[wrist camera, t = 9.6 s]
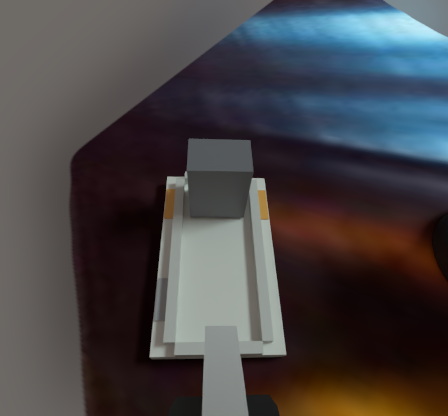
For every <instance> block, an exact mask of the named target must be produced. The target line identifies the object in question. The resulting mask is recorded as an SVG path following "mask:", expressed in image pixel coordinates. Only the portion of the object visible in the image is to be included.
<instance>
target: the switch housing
mask: <svg viewBox="0 0 448 416" xmlns="http://www.w3.org/2000/svg"><path fill="white" fill-rule="evenodd" d="M205 326H237V333H238V341H239V348H240V356H241V358H251V357H283V356H285V355H286V348H285V340H284V332H283V324H282V316H281V308H280V300H279V292H278V284H277V277H276V269H275V261H274V253H273V245H272V237H271V229H270V221H269V213H268V205H267V197H266V189H265V181H264V178H252V181H251V185H250V190H249V195H248V199H247V204H246V209H245V213H244V218H222V217H190V208H189V193H188V179H187V172H185V177H167V186H166V196H165V206H164V216H163V227H162V237H161V247H160V257H159V267H158V277H157V287H156V297H155V307H154V317H153V327H152V337H151V347H150V358H151V359H201V358H204V346H205Z"/></svg>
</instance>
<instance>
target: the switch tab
mask: <svg viewBox="0 0 448 416" xmlns="http://www.w3.org/2000/svg"><path fill="white" fill-rule="evenodd" d="M252 176H253V163H252V153H251V143H250V140H217V139H189V142H188V160H187V179H188V193H189V208H190V217H222V218H244V213H245V209H246V204H247V199H248V195H249V190H250V185H251V181H252Z"/></svg>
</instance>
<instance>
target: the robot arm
mask: <svg viewBox="0 0 448 416" xmlns="http://www.w3.org/2000/svg"><path fill="white" fill-rule="evenodd" d="M433 249H434V253H435V257H436V260H437V262H438V264H439V267H440V269H441V270H442V272H443V274H444V276H445V277H446V279H447V280H448V213H447V214H446V215H444V216H443V217H442V218H441V219H440V220H439V221H438V223H437V225H436V227H435V229H434V233H433ZM168 416H279V412H278V408H277V405H276V404H275V403H274V401H273V400H272V398H271V397H270V396H269V395H246V393H245V385H244V378H243V370H242V363H241V356H240V348H239V341H238V333H237V326H205V346H204V373H203V397H177V398H176V399H175V401H174V402H173V404H172V406H171V407H170V409H169V415H168Z"/></svg>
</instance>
